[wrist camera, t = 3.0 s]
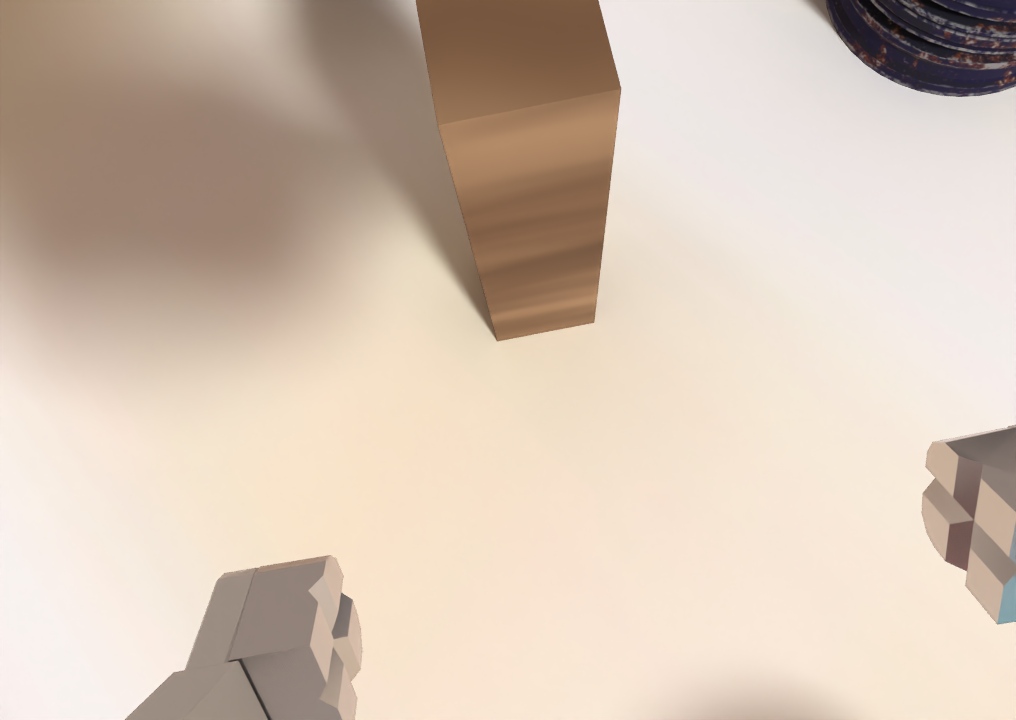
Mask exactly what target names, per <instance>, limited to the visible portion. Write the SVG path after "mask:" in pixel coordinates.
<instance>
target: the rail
mask: <svg viewBox="0 0 1016 720" xmlns="http://www.w3.org/2000/svg"><path fill="white" fill-rule="evenodd" d="M416 5H417V11H418V17H419V22H420V28H421V33H422V39H423V45H424V50H425V56H426V61H427V67H428V73H429V78H430V84H431V90H432V95H433V101H434V106H435V112H436V118H437V123H438V128H439V131H440V135H441V138H442V142H443V146H444V149H445V153H446V157H447V160H448V164H449V167H450V171H451V175H452V178H453V182H454V186H455V189H456V193H457V196H458V200H459V204H460V207H461V211H462V215H463V218H464V222H465V225H466V229H467V233H468V236H469V240H470V244H471V247H472V251H473V254H474V258H475V262H476V265H477V269H478V273H479V276H480V280H481V283H482V287H483V291H484V294H485V298H486V302H487V305H488V309H489V312H490V316H491V320H492V323H493V327H494V331H495V334H496V338H497V341H501V340H507V339H512V338H517V337H522V336H527V335H532V334H537V333H543V332H548V331H553V330H558V329H563V328H568V327H573V326H579V325H584V324H589V323H594V320H595V311H596V302H597V294H598V285H599V276H600V268H601V259H602V250H603V242H604V233H605V224H606V216H607V207H608V199H609V190H610V181H611V173H612V164H613V155H614V147H615V138H616V129H617V121H618V112H619V103H620V95H621V86H620V82H619V78H618V75H617V71H616V67H615V63H614V59H613V55H612V51H611V48H610V44H609V40H608V36H607V32H606V28H605V25H604V21H603V17H602V13H601V9H600V5H599V1H598V0H416Z"/></svg>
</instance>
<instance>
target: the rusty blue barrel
mask: <svg viewBox="0 0 1016 720" xmlns="http://www.w3.org/2000/svg"><path fill="white" fill-rule="evenodd" d="M826 4H827V9H828V12H829V15H830V18H831V20H832V23H833V25H834V27H835V28H836V30H837V32H838V34H839V36H840V37H841V39H842V40H843V41H844V43H845V44H846V45H847V46H848V48H849V49H850V50H851V51H852V52H853V53H854V54H855V55H856V56H857V57H858V58H859V59H860V60H861V61H862V62H864V63H865V64H866V65H867V66H869V67H870V68H872V69H873V70H875V71H876V72H877V73H879V74H880V75H882V76H884V77H886V78H888V79H890V80H892V81H894V82H896V83H898V84H900V85H903V86H906V87H909V88H912V89H915V90H917V91H922V92H926V93H931V94H936V95H944V96H956V97H962V96H980V95H985V94H991V93H996V92H1000V91H1003V90H1006V89H1009V88H1012V87H1015V86H1016V0H826Z"/></svg>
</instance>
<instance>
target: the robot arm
mask: <svg viewBox="0 0 1016 720" xmlns="http://www.w3.org/2000/svg"><path fill="white" fill-rule="evenodd" d="M925 467H926V468H927V469H928V470H929V471H930V472H931V474H932V475H933V476H934V477H935V479H934V480H933V481H932V483H931V484H930V485H929V486H928V487H927V489H926V490H925V491H924V492H923V497H922V516H923V520H924V524H925V528H926V532H927V534H928V536H929V538H930V540H931V542H932V544H933V546H934V548H935V549H936V550H937V551H938V553H939V554H940V555H941V556H942V558H943V559H944V560H945V561H946V562H948V563H950V564H953V565H955V566H957V567H959V568H961V569H963V570H965V571H967V575H966V584H965V586H966V587H967V588H968V590H969V591H970V592H971V593H972V595H973V596H974V597H975V598H976V599H977V601H978V602H979V603H980V604H981V605H982V607H983V608H984V609H985V610H986V611H987V613H988V614H989V615H990V616H991V618H992V619H993V620H994V621H995V622H996V624H1003V623H1010V622H1016V425H1012V426H1008V427H1007V428H1002V429H996V430H991V431H986V432H981V433H976V434H971V435H966V436H960V437H955V438H950V439H945V440H940V441H935V442H932V444H931V446H930V448H929V449H928V451H927V458H926V466H925ZM342 583H343V573H342V571H341V569H340V566H339V564H338V562H337V559H336V558H335V557H333V556H331V555H328V556H322V557H316V558H310V559H303V560H297V561H291V562H285V563H279V564H273V565H267V566H261V567H260V568H252V569H246V570H241V571H235V572H229V573H224V574H223V575H222V576H221V577H220V578H219V579H218V580H217V582H216V584H215V587H214V590H213V592H212V595H211V598H210V601H209V604H208V606H207V609H206V612H205V615H204V618H203V620H202V623H201V626H200V629H199V631H198V634H197V637H196V640H195V643H194V645H193V648H192V651H191V654H190V657H189V659H188V662H187V665H186V668H185V670H184V671H179V672H174V673H173V674H172V675H171V676H169V677H168V678H167V679H166V680H165V681H164V682H163V683H162V684H161V685H160V686H159V687H158V688H157V689H156V690H155V691H154V692H153V693H152V694H151V695H150V696H149V697H148V698H147V699H146V700H145V701H144V702H143V703H142V704H141V705H139V706H138V707H137V708H136V709H135V710H134V711H133V712H132V713H131V714H130V715H129V716H128V717H127V718H126V719H125V720H355V714H356V705H357V696H356V693H355V691H354V688H353V686H352V683H351V681H352V679H353V678H354V677H355V676H356V674H357V673H358V672H359V671H360V670H361V659H362V639H361V628H360V623H359V618H358V614H357V611H356V608H355V605H354V603H353V600H352V599H350V598H349V597H347V596H346V595H344V594H343V593H341V590H342Z"/></svg>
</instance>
